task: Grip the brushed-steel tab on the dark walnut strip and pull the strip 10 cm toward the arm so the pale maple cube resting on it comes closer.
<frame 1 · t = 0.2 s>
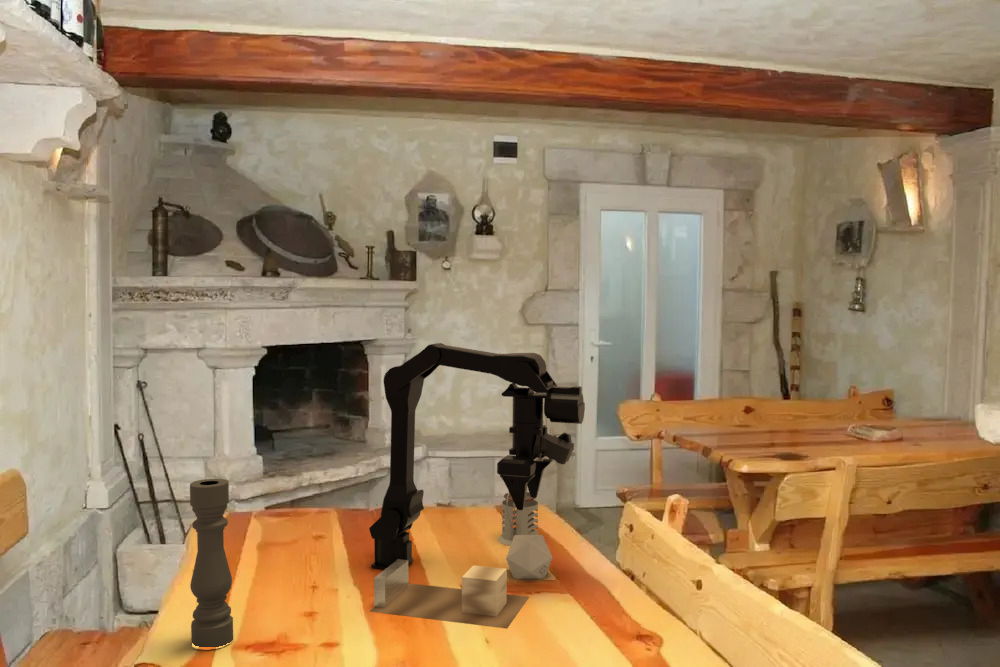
hand: (527, 503, 156), 14 cm above the table, fingers open, 9 cm apart
french press: (518, 541, 180), on the table
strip: (451, 591, 142), point 3 cm above the table, slide at 0.0 cm, touching cube
cube: (484, 607, 141), point 1 cm above the table, touching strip
die: (528, 579, 157), on the table
candle holder: (212, 643, 129), on the table
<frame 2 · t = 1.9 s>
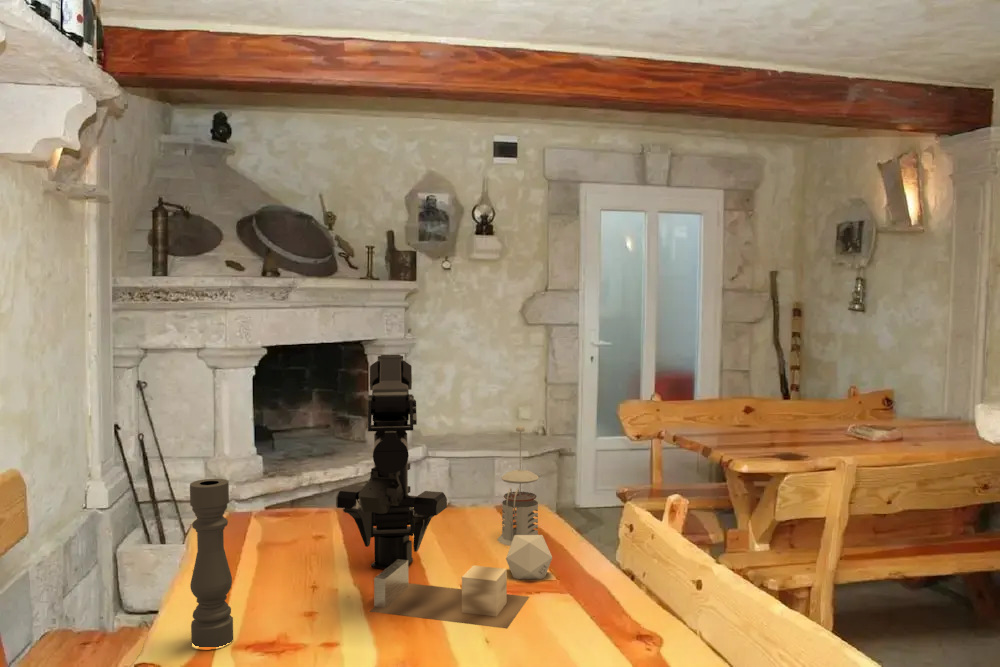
hand: (391, 548, 145), 9 cm above the table, fingers open, 9 cm apart
nothing on the table moved.
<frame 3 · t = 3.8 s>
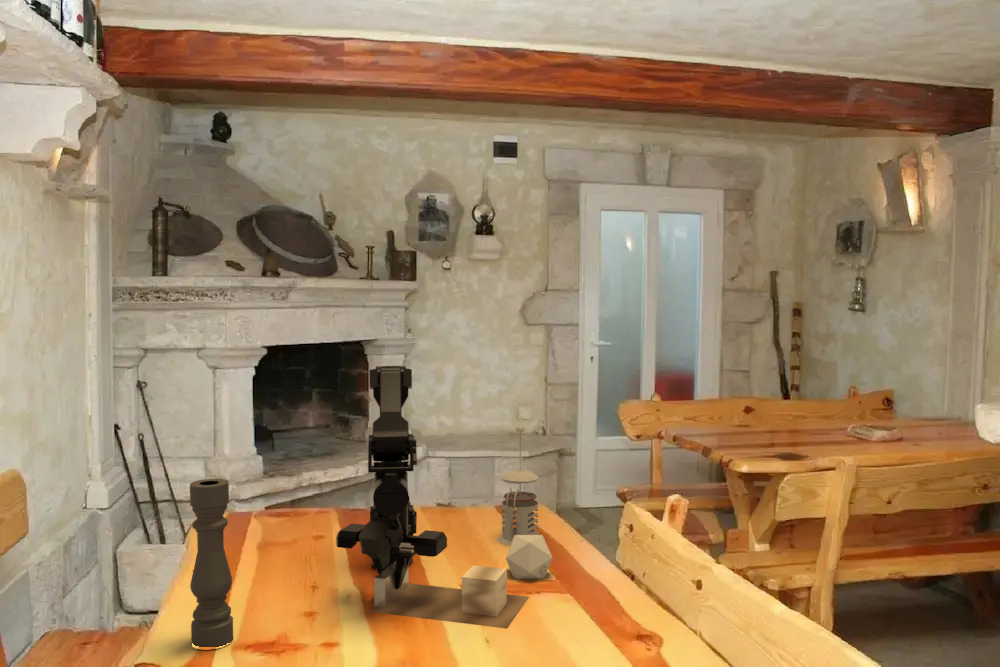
hand: (391, 587, 145), 3 cm above the table, fingers closed on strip, 2 cm apart
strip: (451, 591, 142), point 3 cm above the table, slide at 0.0 cm, touching cube, gripper
everything else where it was.
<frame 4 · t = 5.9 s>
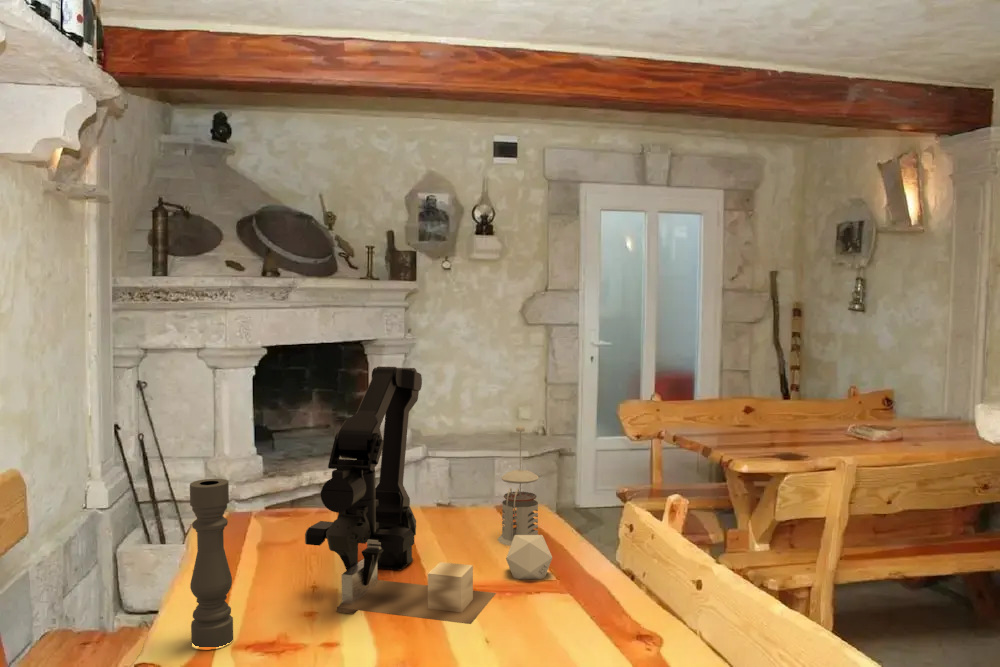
hand: (360, 584, 147), 3 cm above the table, fingers closed on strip, 2 cm apart
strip: (418, 588, 144), point 3 cm above the table, slide at 6.1 cm, touching cube, gripper
cube: (450, 603, 142), point 1 cm above the table, touching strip
everything else where it was.
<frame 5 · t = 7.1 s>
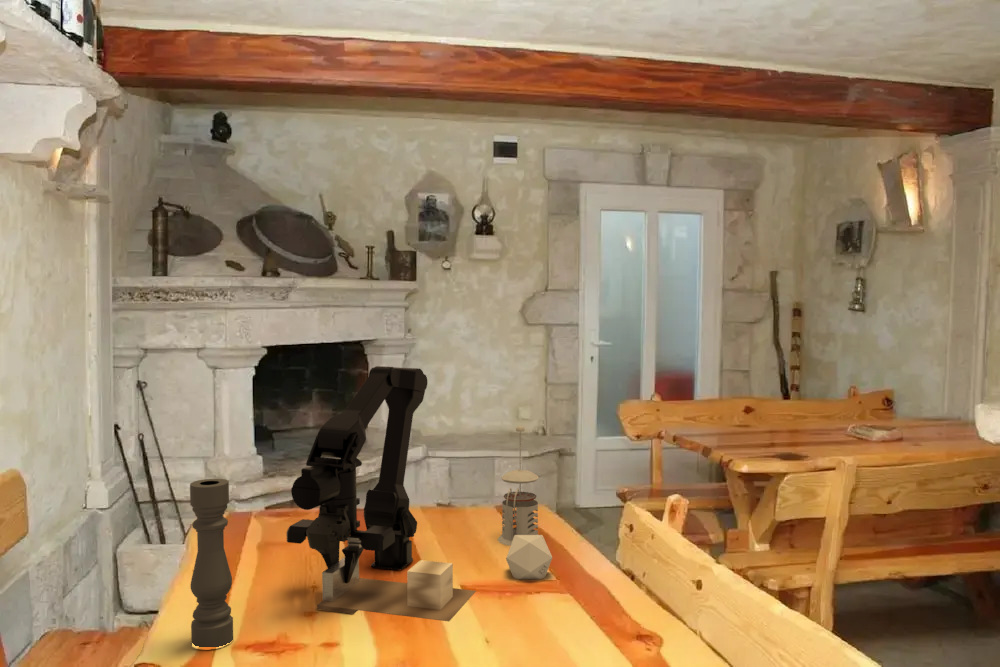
hand: (341, 582, 148), 3 cm above the table, fingers closed on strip, 2 cm apart
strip: (398, 585, 145), point 3 cm above the table, slide at 9.8 cm, touching cube, gripper
cube: (430, 601, 143), point 1 cm above the table, touching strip
everything else where it was.
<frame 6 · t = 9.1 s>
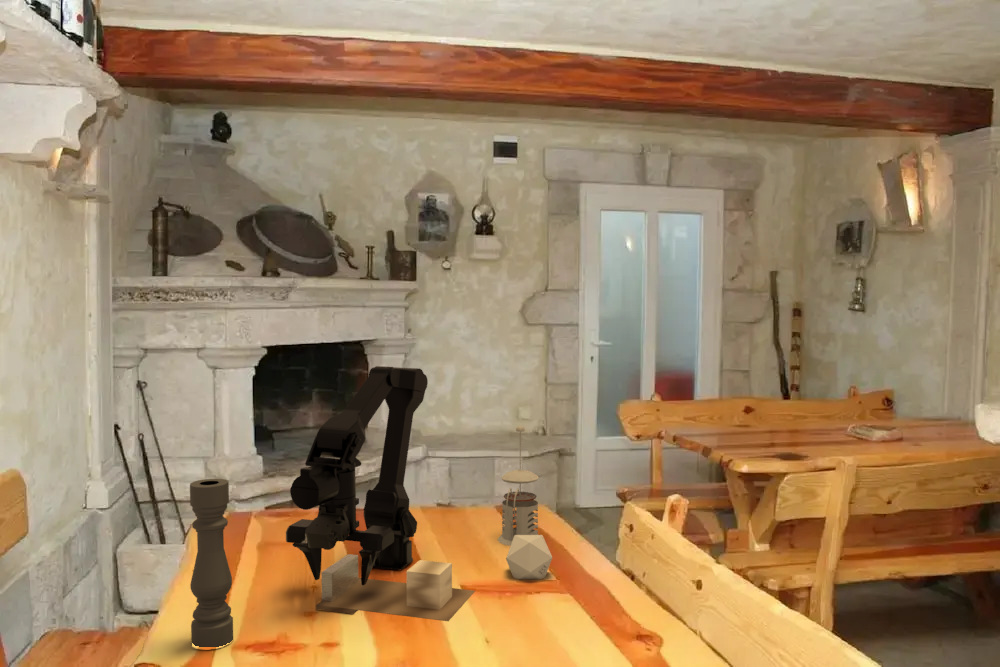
hand: (340, 582, 148), 3 cm above the table, fingers open, 9 cm apart
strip: (397, 585, 145), point 3 cm above the table, slide at 9.9 cm, touching cube
everything else where it was.
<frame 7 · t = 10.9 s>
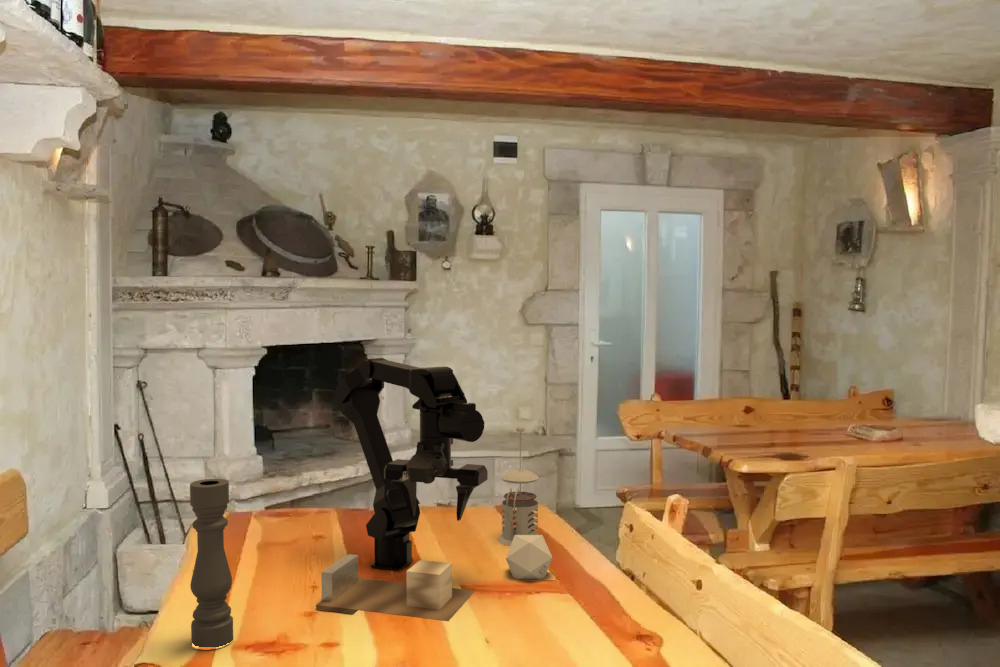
hand: (435, 518, 155), 12 cm above the table, fingers open, 9 cm apart
nothing on the table moved.
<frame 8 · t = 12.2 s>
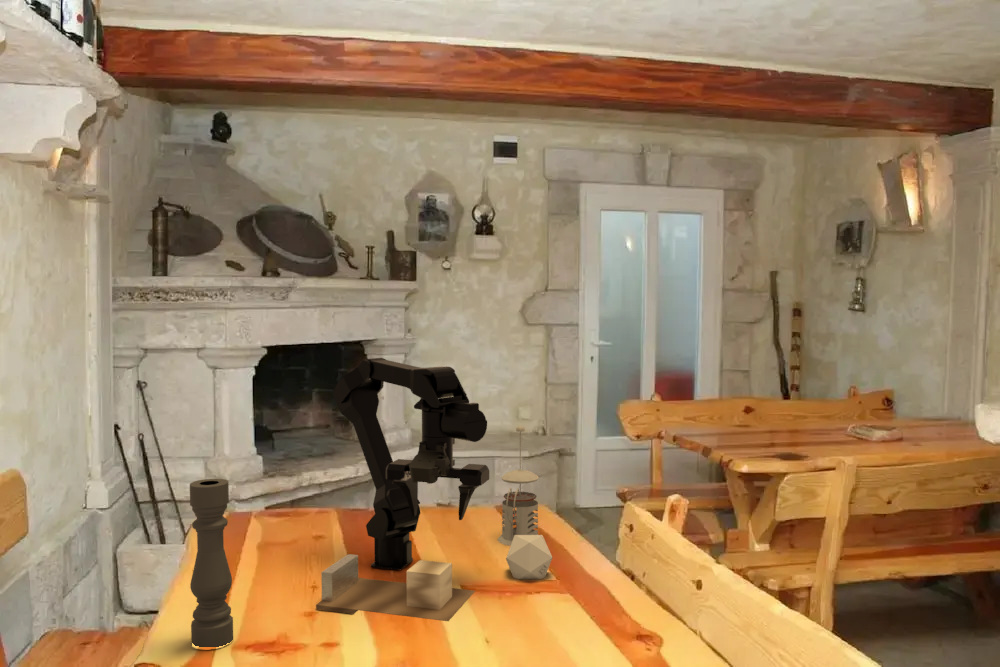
hand: (437, 517, 155), 12 cm above the table, fingers open, 9 cm apart
nothing on the table moved.
at the end: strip slide at 9.9 cm; cube inside the target area (0.1 cm from its centre), point 0.9 cm above the table; cube tilted 0° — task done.
